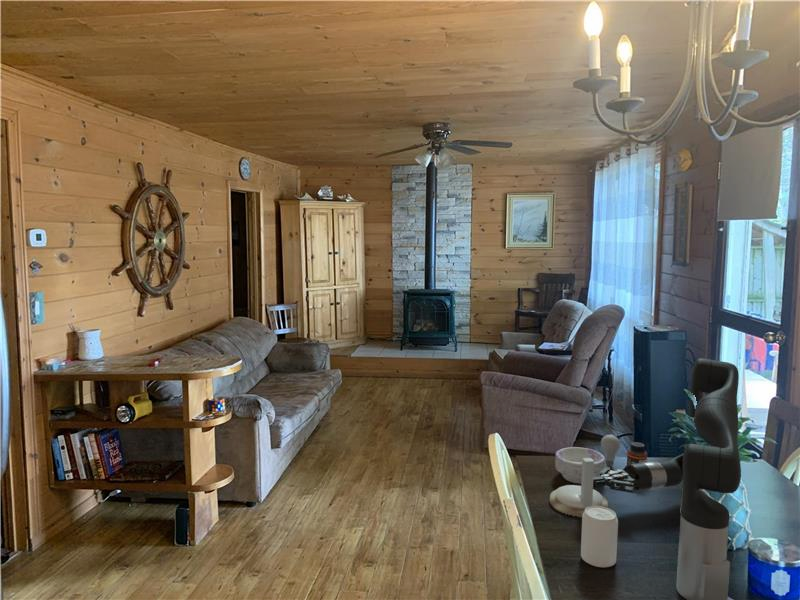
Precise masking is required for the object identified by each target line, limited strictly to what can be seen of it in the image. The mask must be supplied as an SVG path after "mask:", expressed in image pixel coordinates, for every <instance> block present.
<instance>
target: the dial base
mask: <svg viewBox="0 0 800 600" xmlns="http://www.w3.org/2000/svg"><path fill="white" fill-rule="evenodd" d="M556 490H557V489H555V490H552V492H551V493H550V496H549V503H550V505H551V507H552V508H553V509H554V510H556V511H558V512H560V513H562V514H564V513H565V514H564V515H567V514H568V516H570V515H572V516H571V517H575V516H577V517H576V518H582V515H583V513H584V512H585V509H577V508H572V507H569V506H566V505H564V504H562V503H560V502H559V501H558V500H557V499H556V497H555V496H556ZM608 503H609V502H608V500H607V499H606V498H605V497H604V496H603V495H602V505H601V506H602V507H606V508H608V507H609V504H608Z"/></svg>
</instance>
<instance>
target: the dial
mask: <svg viewBox="0 0 800 600" xmlns="http://www.w3.org/2000/svg"><path fill="white" fill-rule="evenodd" d="M593 477H594V461H593V460H592V459H591V458H582V481H581V484H580V485H579V484H578V485H577V484H576V485H575V484H572V485H571V484H566V485H563V486H562V485H561V486H559V487H558V488H557V489H555V490H556V496H555V497H556V499H557V500H558V501H559V502H560V503H562V504H564V505H566V506H569V507H572V508H577V509H586V508H587V507H590V506H601V505H602V496H603V495H602V494H601V493H600V492H599V491H597V490H596V489H594V487H593Z"/></svg>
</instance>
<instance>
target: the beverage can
mask: <svg viewBox="0 0 800 600" xmlns="http://www.w3.org/2000/svg"><path fill="white" fill-rule="evenodd" d="M618 529H619V520H618V517H617V513H616V512H615V511H614V510H612V509H611V508H606V507H602V506H590V507H587V508H586V509H585V512H584V513H583V515H582V517H581V538H580V539H581V542H580V558H581V559H582V560H583V561H584V562H585V563H587V564H589V565H590V566H593V567H595V568H610V567H612V566H614V565H615V564H616V563H617V552H618V551H617V550H618V549H617V548H618V533H619V530H618Z"/></svg>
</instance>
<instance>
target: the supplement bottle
mask: <svg viewBox="0 0 800 600" xmlns="http://www.w3.org/2000/svg"><path fill="white" fill-rule="evenodd" d="M626 455H627V456H626V466H627V465H628V464H635V463H644V462H648V452H647V451H646V450H645V444H644V443H642V442H636V441H633V442H631V444H630V448H629V449H628V450H627V453H626Z"/></svg>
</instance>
